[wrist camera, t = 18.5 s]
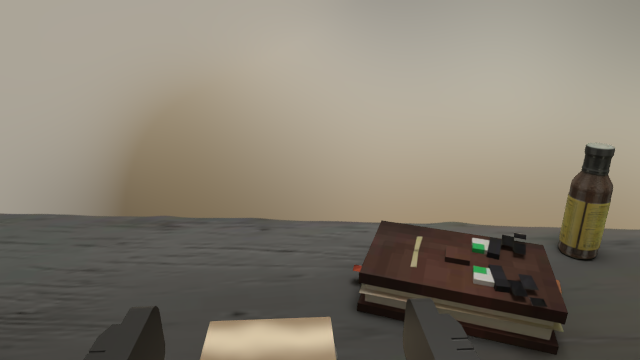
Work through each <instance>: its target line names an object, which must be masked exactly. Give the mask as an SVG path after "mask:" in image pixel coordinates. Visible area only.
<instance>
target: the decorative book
mask: <svg viewBox="0 0 640 360" xmlns="http://www.w3.org/2000/svg"><path fill="white" fill-rule="evenodd" d="M514 237H516V238H520V239H525V240H526V235H524V234H519V233H514ZM514 237H511V236H506V235H502V239H499V238H492V237H486V236H479V235H473V234H466V233H460V232H453V231H446V230H440V229H433V228H427V227H420V226H414V225H407V224H401V223H394V222H387V221H381V223H380V226H379V228H378V230H377V233H376V235H375V237H374V240H373V242H372V244H371V246H370V249H369V251H368V253H367V256H366V258H365V260H364V263H363V265H362V266H360V265H354V268H353V271H359V283H362V285H361V288H360V291H359V293H361V296H360V298H359V301H358V306H357V311H361V312H366V313H371V314H375V315H380V316H384V317H389V318H393V319H398V320H402V321H404V320H405V310H406V302H407V299H410V298H431V299H432V300H433V302H434V304H435V306H436V308H437V310H438V312H439V314H447V313H449V314H450V315H451V316H452V317H453V318H454V319H455V320H457V321H458V322H459V323H460V324H461V325H462V327H463V329H464V331H465V333H466V334H467V335H470V336H474V337H479V338H483V339H488V340H492V341H497V342H502V343H506V344H511V345H515V346H520V347H524V348H529V349H533V350H538V351H542V352H547V353H551V354H557V350H558V347H559V346H558V343H557V340H556V336H555V333H554V330H556V331H561V332H564V331H563V329H562V326H561V324H565V322H566V318H567V314H568V312H567V309H566V306H565V304H564V301H563V298H562V295H561V293H562V291H561V286H560V281H559V280H556V279H555V276H554V274H553V271H552V268H551V265H550V263H549V260H548V257H547V254H546V252H545V249H544V246H543V245H538V244H532V243H525V242H519V241H514Z"/></svg>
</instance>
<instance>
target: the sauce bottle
mask: <svg viewBox="0 0 640 360" xmlns="http://www.w3.org/2000/svg"><path fill="white" fill-rule="evenodd" d="M614 152H615V147H614V146H611V145H607V144H601V143H588V144H587V145H586V148H585V159H584V163H583V166H582V171H581V172H580V173H578V175H576V176H575V177H574V179H573V180H572V183H571V187H570V192H569V194H568V198H567V203H566V208H565V213H564V218H563V223H562V227H561V231H560V236H559V239H560V241H559V244H558V246H559V249H560V251H561V252H562V253H564V254H565V255H568V256H570V257H573V258H576V259H592V258H594V257H595V256H596V255H597V251H598V248H599V247H600V243H601V239H602V235H603V231H604V227H605V222H606V218H607V214H608V210H609V206H610V202H611V195H612V191H613V184H612V182H611V180H610V178H609V176H608V173H609V167H610V163H611V159H612V157H613V156H614Z"/></svg>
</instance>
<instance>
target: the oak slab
mask: <svg viewBox="0 0 640 360" xmlns="http://www.w3.org/2000/svg"><path fill="white" fill-rule="evenodd" d="M200 360H336V354H335V347H334V340H333V332H332V325H331V318H330V317H314V318H288V319H262V320H236V321H210V325H209V328H208V332H207V336H206V340H205V343H204V347H203V351H202V354H201V358H200Z"/></svg>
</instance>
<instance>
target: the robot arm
mask: <svg viewBox="0 0 640 360" xmlns="http://www.w3.org/2000/svg"><path fill="white" fill-rule="evenodd" d="M403 347H404V353H405V357H406V360H480V358H479V356H478V355H477V353H476V351H474V347H473V345H472V344H471V342H470V340H468V336H467V334H466V333H465V331H464V329H463V327H462V325H461V324H460V323H459V322H458V321H457V320H455V319H454V318H453V317H452V316H451V315H450V314H449V313H447V314H439V312H438V310H437V308H436V306H435V304H434V302H433V300H432V299H431V298H410V299H407V302H406V310H405V320H404V330H403ZM164 357H165V341H164V335H163V329H162V324H161V318H160V312H159V309H158V307H157V306H147V307H132V308H130V309H129V311H128V313H127V314H126V316H125V318H124V320H123V321H122V323H121V324H114V325H111V326H110V327H109V328H108V329H107V330H105V331H104V332H103V333H102V334H101V335H100V336H98V338H97V339H96V341H95V342H94V344H93V346H92V347H91V349H90V350H89V354H87V355H86V357H85V358H84V360H164Z"/></svg>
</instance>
